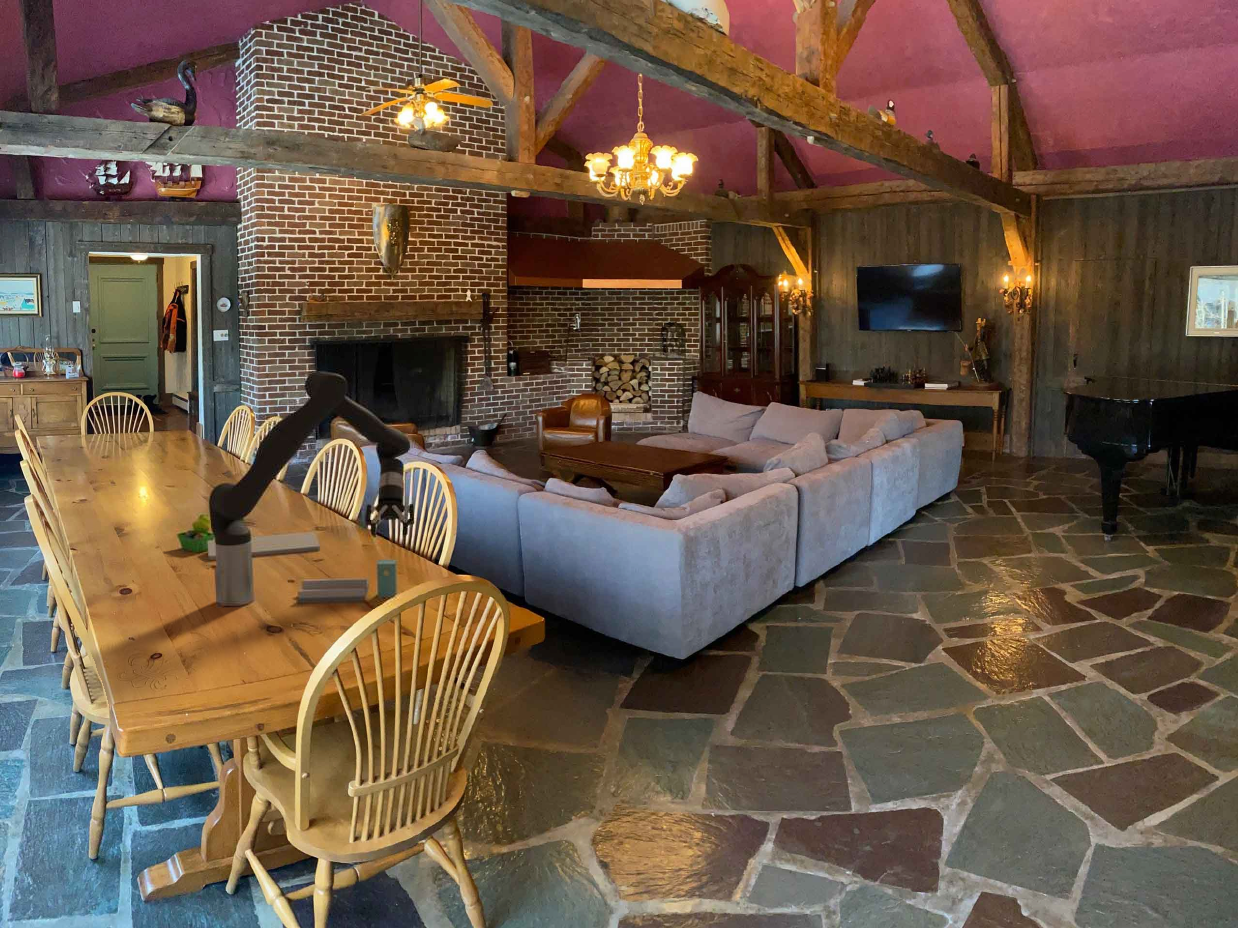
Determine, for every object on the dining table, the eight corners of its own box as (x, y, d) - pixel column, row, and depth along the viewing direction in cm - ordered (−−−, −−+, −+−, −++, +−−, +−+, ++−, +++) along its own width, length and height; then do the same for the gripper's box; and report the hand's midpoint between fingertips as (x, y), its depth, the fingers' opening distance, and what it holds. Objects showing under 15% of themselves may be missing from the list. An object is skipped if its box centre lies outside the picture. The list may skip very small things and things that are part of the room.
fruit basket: (176, 548, 315) (174, 515, 313) (200, 543, 322) (199, 511, 320) (195, 554, 308) (193, 520, 306) (220, 548, 315) (218, 516, 313)
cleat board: (297, 603, 262) (297, 589, 261) (305, 589, 275) (304, 575, 274) (364, 601, 265) (363, 587, 264) (368, 587, 278) (368, 574, 277)
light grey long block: (319, 558, 317) (315, 543, 325) (319, 546, 315) (315, 531, 323) (209, 568, 303) (208, 553, 311) (208, 556, 301) (207, 540, 309)
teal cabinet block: (377, 599, 267) (376, 565, 265) (379, 592, 273) (378, 559, 271) (395, 598, 268) (394, 564, 266) (396, 592, 273) (396, 559, 272)
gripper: (366, 483, 284) (363, 529, 275) (414, 483, 286) (413, 528, 277) (368, 497, 290) (365, 542, 281) (415, 496, 292) (414, 541, 283)
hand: (389, 535), depth 279 cm, fingers open, 8 cm apart
